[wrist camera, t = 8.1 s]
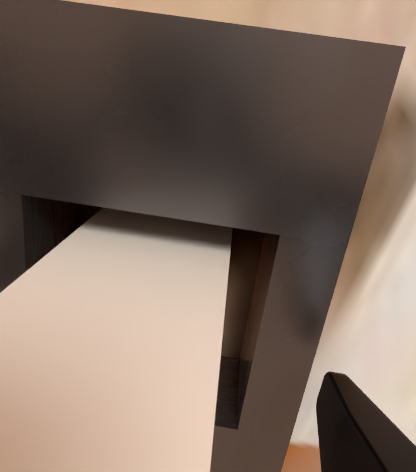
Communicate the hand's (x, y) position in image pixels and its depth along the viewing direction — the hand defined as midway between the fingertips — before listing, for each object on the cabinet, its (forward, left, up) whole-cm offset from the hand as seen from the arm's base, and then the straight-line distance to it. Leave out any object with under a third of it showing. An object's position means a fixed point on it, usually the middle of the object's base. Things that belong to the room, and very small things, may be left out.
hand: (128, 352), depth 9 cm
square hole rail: (0, 0, -4) cm, 4 cm away
